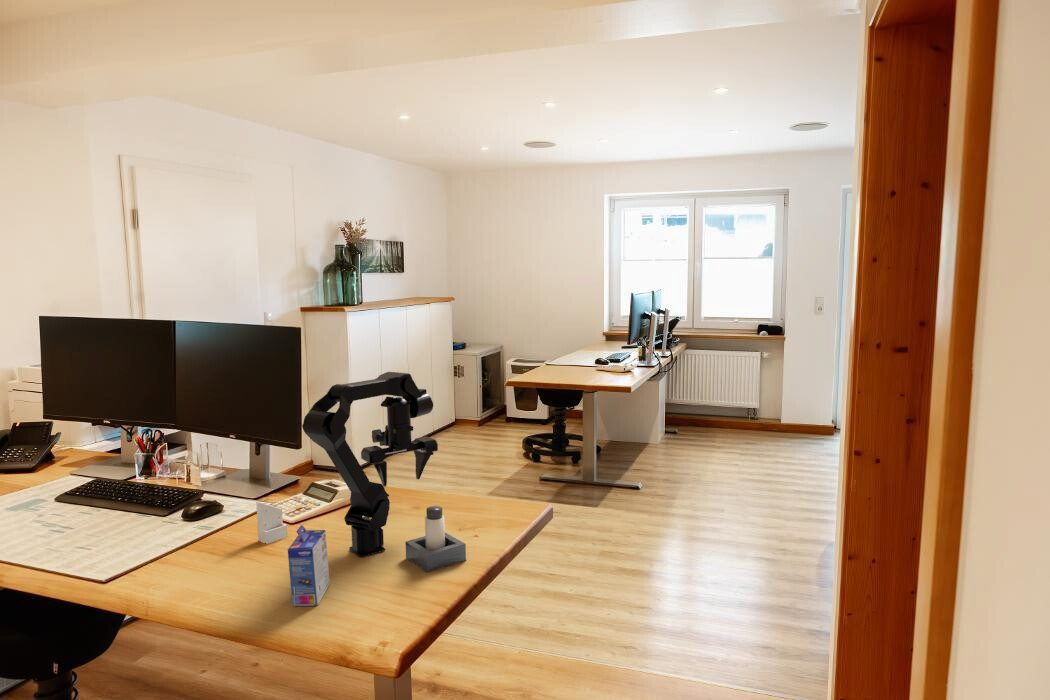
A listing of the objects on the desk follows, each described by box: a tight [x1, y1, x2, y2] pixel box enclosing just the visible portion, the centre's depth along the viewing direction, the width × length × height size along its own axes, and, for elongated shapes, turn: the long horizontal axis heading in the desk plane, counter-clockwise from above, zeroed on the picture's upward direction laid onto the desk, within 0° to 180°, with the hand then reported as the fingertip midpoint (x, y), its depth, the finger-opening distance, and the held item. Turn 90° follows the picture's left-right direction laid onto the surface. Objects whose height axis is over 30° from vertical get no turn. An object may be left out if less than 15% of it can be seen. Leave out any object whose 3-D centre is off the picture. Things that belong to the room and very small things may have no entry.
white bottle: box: [424, 505, 446, 551], centre depth 158 cm, size 4×4×12 cm
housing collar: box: [405, 532, 467, 573], centre depth 158 cm, size 10×10×4 cm
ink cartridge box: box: [287, 524, 330, 607], centre depth 141 cm, size 10×6×14 cm, turn 2°
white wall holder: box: [255, 501, 289, 545], centre depth 171 cm, size 4×10×9 cm, turn 143°
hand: (401, 482), depth 174 cm, fingers open, 9 cm apart
